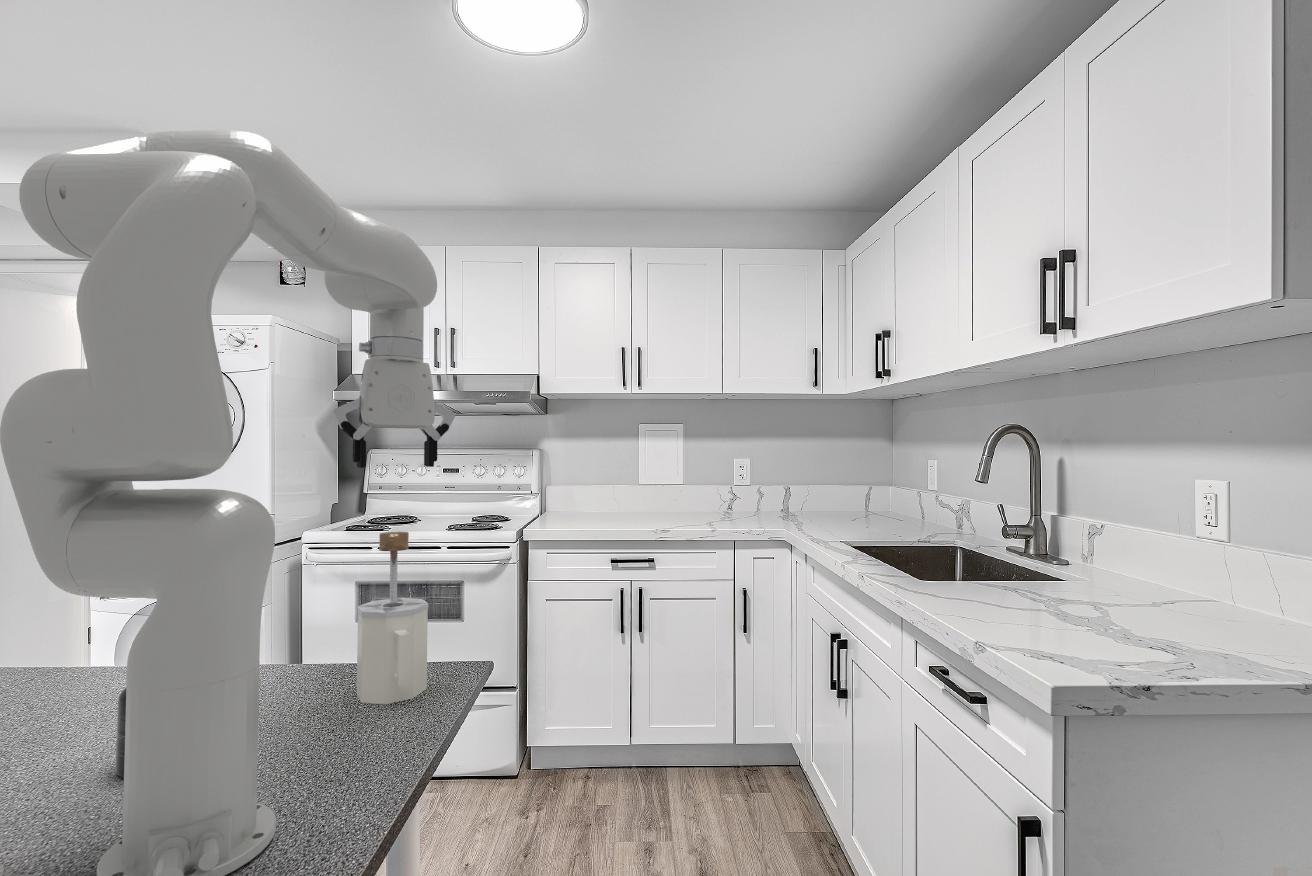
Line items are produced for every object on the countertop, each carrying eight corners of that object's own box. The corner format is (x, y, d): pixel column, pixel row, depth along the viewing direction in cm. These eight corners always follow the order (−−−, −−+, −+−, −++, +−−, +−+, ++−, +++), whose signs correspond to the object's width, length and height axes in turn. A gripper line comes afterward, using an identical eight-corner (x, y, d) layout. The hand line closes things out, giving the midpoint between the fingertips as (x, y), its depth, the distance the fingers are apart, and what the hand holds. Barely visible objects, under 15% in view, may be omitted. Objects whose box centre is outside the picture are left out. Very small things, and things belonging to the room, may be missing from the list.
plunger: (410, 652, 94) (411, 533, 95) (381, 656, 92) (382, 535, 92) (403, 645, 97) (405, 531, 98) (375, 649, 95) (377, 532, 96)
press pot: (437, 700, 91) (438, 609, 92) (367, 714, 86) (368, 618, 86) (416, 677, 101) (417, 595, 101) (352, 689, 95) (354, 603, 96)
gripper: (337, 344, 88) (335, 468, 88) (461, 355, 98) (461, 466, 98) (329, 351, 94) (328, 467, 94) (447, 361, 104) (447, 465, 104)
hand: (396, 466), depth 96 cm, fingers open, 9 cm apart
